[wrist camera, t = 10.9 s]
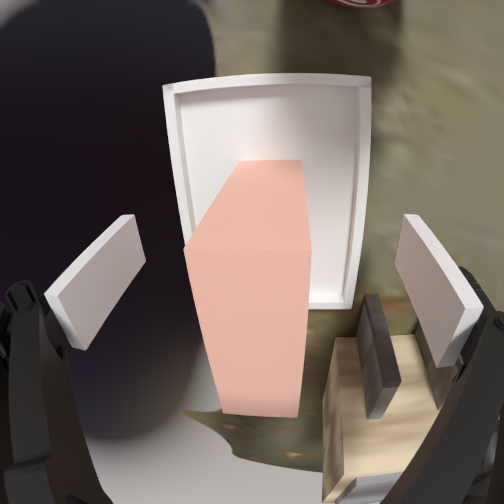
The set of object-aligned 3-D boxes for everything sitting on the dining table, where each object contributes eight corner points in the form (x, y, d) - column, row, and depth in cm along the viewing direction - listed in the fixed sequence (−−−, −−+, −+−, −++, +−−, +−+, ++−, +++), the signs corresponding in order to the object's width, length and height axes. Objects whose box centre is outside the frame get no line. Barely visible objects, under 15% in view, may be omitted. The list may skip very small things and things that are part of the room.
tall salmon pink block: (300, 288, 21) (298, 417, 12) (248, 288, 21) (222, 413, 13) (302, 159, 16) (313, 249, 8) (238, 160, 17) (182, 248, 8)
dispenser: (408, 393, 28) (425, 494, 17) (322, 399, 29) (321, 508, 18) (456, 291, 20) (517, 422, 10) (342, 294, 22) (362, 459, 11)
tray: (348, 295, 22) (351, 308, 20) (202, 292, 23) (197, 305, 22) (364, 77, 14) (371, 76, 13) (172, 84, 15) (162, 85, 14)
